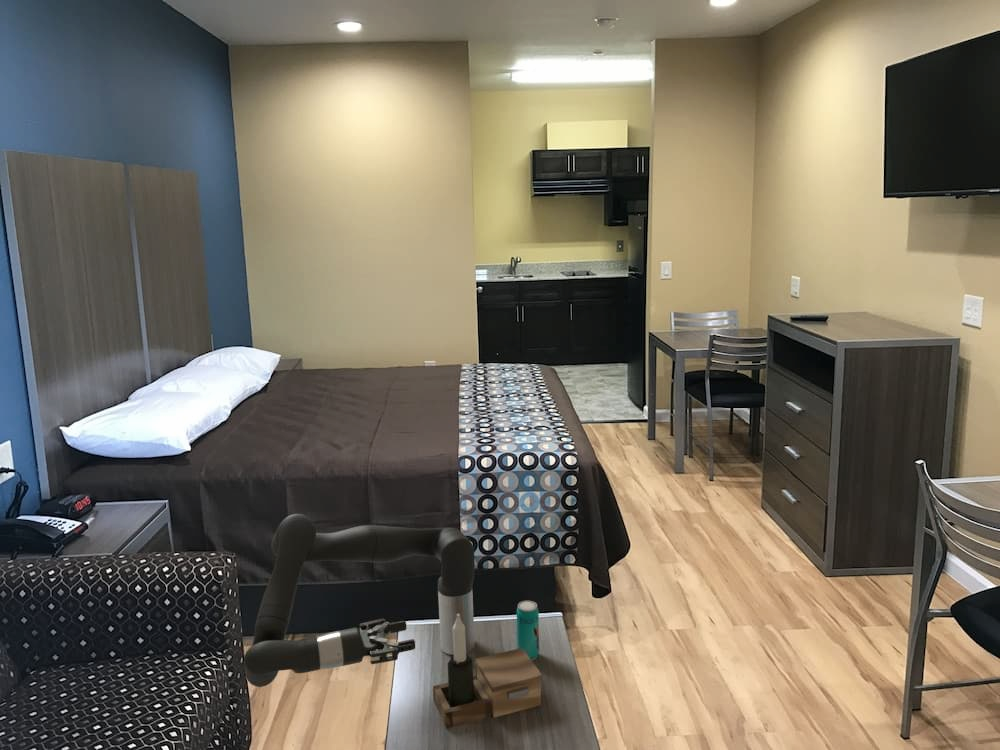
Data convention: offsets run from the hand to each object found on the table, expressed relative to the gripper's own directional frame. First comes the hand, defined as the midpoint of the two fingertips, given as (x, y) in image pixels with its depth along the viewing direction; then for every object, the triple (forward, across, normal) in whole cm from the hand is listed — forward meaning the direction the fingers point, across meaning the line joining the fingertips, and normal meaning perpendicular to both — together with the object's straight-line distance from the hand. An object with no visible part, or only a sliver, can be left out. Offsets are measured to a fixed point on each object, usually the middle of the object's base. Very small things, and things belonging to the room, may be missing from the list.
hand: (410, 634), depth 177 cm
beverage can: (+35, +14, +22) cm, 44 cm away
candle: (+12, 0, +22) cm, 25 cm away
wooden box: (+18, 0, +22) cm, 29 cm away
